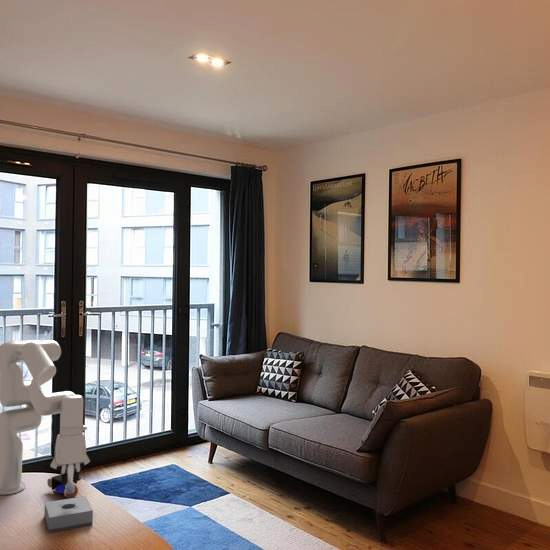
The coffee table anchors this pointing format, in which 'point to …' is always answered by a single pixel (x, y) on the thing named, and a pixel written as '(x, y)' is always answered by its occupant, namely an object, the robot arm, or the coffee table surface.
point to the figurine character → (61, 486)
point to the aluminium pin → (70, 478)
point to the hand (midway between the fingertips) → (69, 482)
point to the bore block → (68, 514)
